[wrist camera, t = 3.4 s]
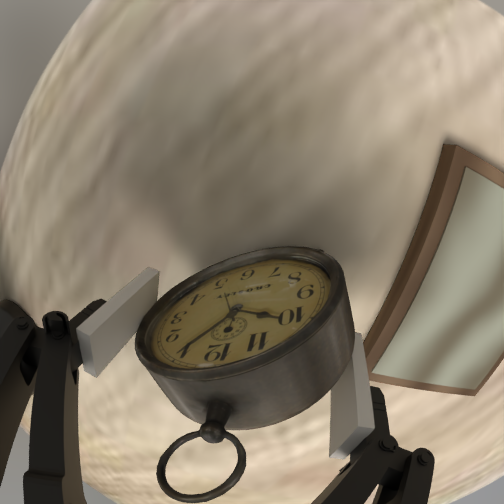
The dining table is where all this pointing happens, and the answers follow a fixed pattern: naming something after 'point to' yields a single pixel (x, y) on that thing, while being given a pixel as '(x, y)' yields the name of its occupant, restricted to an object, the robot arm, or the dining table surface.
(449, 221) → the mirror
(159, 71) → the dining table surface
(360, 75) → the dining table surface
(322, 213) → the dining table surface
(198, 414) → the alarm clock
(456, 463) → the dining table surface
